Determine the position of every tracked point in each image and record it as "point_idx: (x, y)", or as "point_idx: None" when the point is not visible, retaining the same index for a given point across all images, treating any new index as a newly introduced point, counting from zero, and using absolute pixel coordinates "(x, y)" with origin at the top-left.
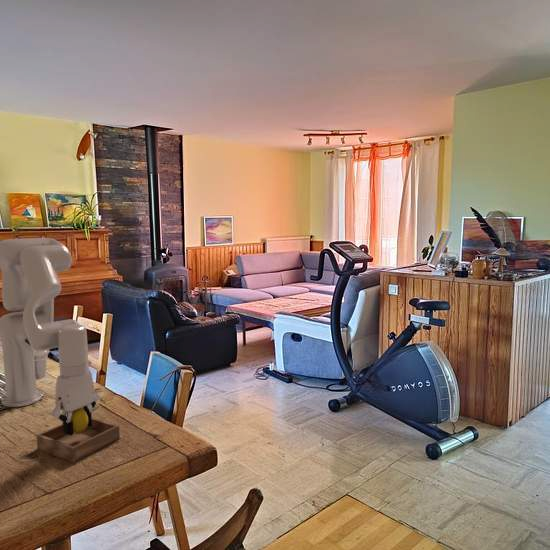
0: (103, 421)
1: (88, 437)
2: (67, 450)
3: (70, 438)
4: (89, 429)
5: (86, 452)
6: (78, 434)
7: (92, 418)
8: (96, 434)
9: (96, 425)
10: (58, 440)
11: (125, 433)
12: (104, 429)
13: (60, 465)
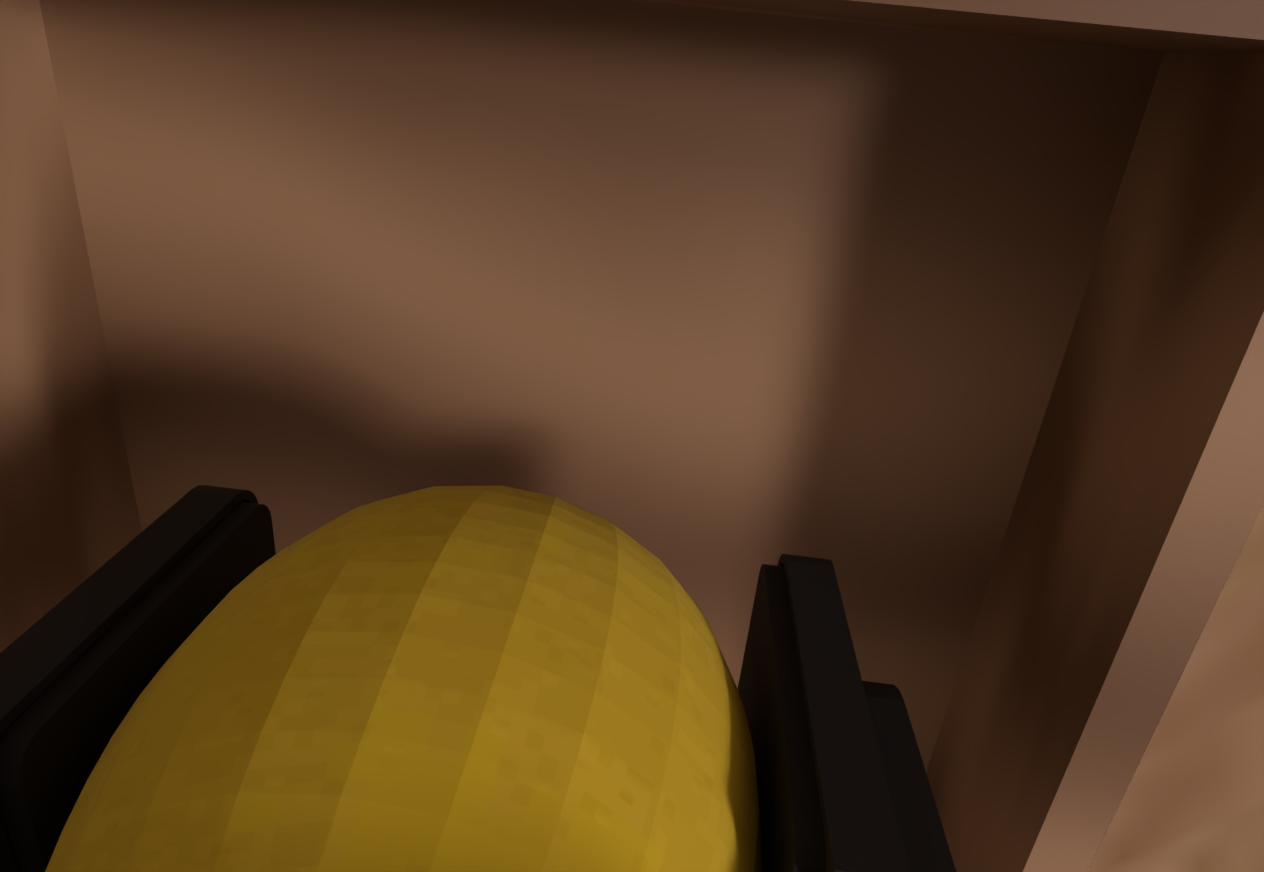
0: (1100, 799)
1: (741, 528)
2: None
3: (568, 248)
4: (1055, 298)
5: None
6: (775, 260)
7: (1234, 466)
8: (892, 569)
9: (1067, 553)
10: (382, 78)
11: (1107, 839)
12: (987, 723)
13: None
